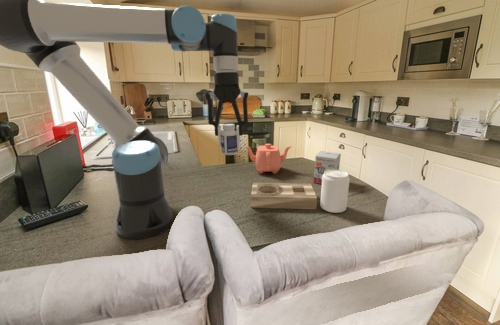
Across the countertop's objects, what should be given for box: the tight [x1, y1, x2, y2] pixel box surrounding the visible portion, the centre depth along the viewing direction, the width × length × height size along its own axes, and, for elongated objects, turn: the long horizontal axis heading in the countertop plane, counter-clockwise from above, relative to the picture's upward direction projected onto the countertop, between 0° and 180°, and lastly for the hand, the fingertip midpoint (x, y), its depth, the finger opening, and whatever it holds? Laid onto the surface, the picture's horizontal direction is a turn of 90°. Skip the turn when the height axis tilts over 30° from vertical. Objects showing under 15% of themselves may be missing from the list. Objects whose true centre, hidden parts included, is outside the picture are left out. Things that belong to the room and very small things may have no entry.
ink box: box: [313, 150, 342, 185], centre depth 103 cm, size 9×9×12 cm
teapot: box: [243, 143, 293, 174], centre depth 117 cm, size 15×17×13 cm
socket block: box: [250, 182, 318, 210], centre depth 87 cm, size 12×21×4 cm, turn 86°
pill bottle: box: [220, 123, 239, 156], centre depth 85 cm, size 5×5×10 cm
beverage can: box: [319, 169, 351, 214], centre depth 80 cm, size 8×8×12 cm
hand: (229, 145), depth 85 cm, fingers closed on pill bottle, 5 cm apart
